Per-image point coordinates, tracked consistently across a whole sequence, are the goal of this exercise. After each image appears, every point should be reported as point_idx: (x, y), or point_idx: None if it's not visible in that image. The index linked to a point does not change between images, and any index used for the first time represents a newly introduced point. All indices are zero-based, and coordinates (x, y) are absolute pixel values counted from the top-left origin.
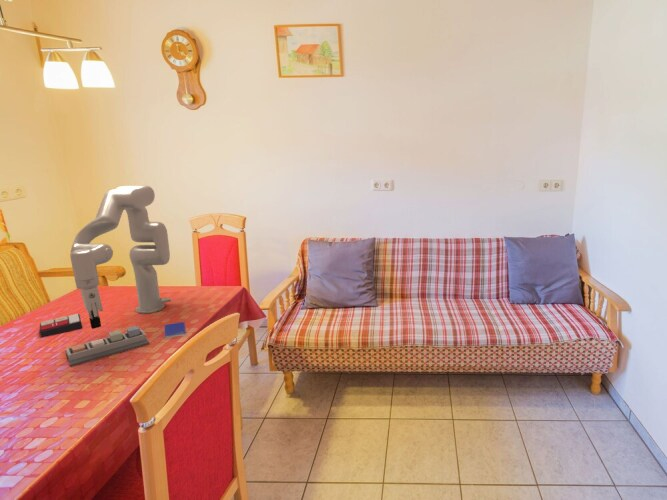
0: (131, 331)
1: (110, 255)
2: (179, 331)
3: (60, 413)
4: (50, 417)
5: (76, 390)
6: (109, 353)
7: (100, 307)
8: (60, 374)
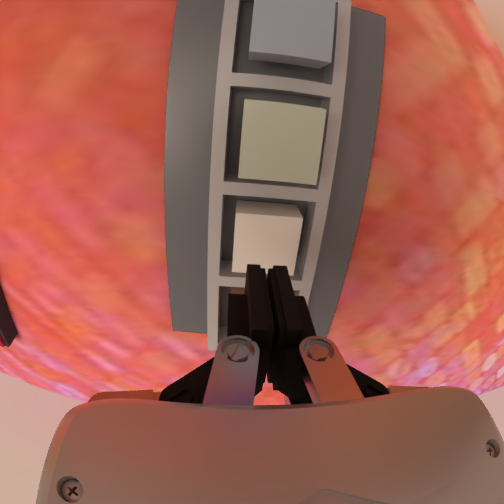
0: (331, 47)
1: None
2: None
3: (489, 351)
4: (483, 362)
5: (462, 329)
6: (361, 204)
7: (493, 440)
8: (350, 355)
